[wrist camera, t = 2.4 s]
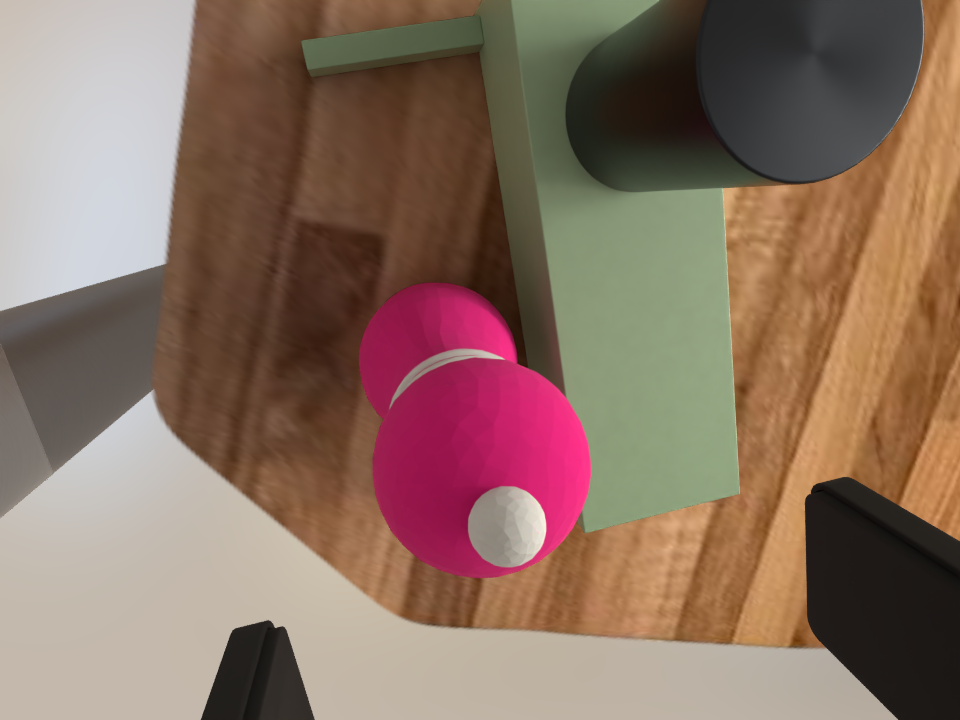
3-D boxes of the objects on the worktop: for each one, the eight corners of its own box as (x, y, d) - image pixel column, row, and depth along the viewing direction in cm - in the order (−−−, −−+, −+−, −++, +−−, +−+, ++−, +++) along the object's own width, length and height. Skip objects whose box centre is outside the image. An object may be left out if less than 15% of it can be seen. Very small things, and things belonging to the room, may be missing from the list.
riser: (408, 503, 34) (417, 576, 27) (302, 39, 27) (279, -14, 21) (672, 440, 36) (740, 494, 29) (632, -8, 29) (709, -71, 22)
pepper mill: (344, 386, 32) (301, 665, 13) (382, 254, 30) (398, 341, 11) (473, 419, 33) (607, 708, 14) (514, 295, 32) (724, 431, 13)
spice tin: (574, 204, 24) (705, 203, 15) (554, 41, 23) (688, -78, 13) (712, 178, 25) (922, 162, 15) (702, 19, 23) (931, -109, 14)
